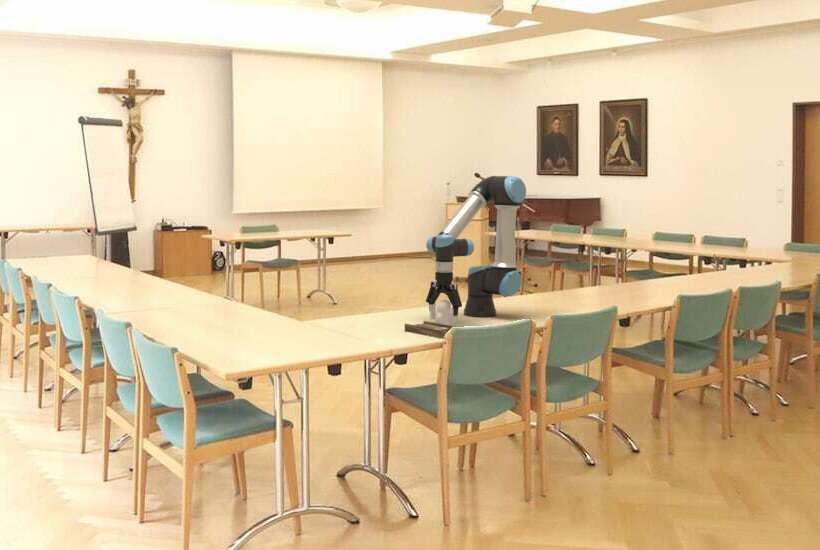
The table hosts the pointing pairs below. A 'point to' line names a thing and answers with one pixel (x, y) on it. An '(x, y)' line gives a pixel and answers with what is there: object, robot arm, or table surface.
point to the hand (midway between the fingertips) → (443, 321)
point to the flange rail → (429, 329)
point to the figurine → (443, 313)
